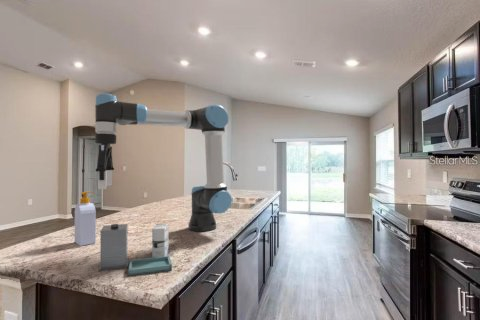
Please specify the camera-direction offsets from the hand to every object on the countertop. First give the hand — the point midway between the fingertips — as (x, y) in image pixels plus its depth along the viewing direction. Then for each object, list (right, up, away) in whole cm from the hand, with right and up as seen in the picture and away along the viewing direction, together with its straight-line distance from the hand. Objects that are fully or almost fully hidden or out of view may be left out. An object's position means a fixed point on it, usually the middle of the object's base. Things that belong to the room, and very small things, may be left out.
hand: (105, 187), depth 109 cm
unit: (+9, -27, -11) cm, 30 cm away
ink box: (+23, -27, -2) cm, 35 cm away
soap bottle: (-16, -27, +15) cm, 35 cm away
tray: (+22, -27, -14) cm, 37 cm away
